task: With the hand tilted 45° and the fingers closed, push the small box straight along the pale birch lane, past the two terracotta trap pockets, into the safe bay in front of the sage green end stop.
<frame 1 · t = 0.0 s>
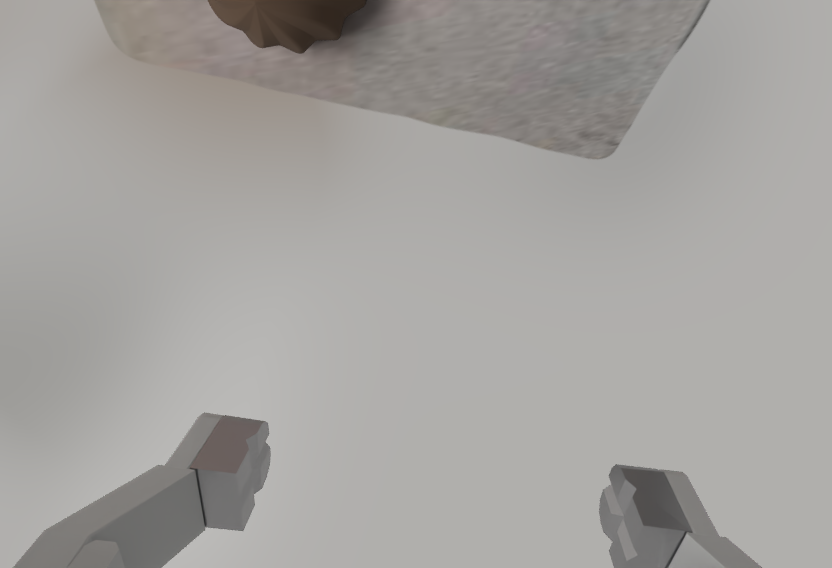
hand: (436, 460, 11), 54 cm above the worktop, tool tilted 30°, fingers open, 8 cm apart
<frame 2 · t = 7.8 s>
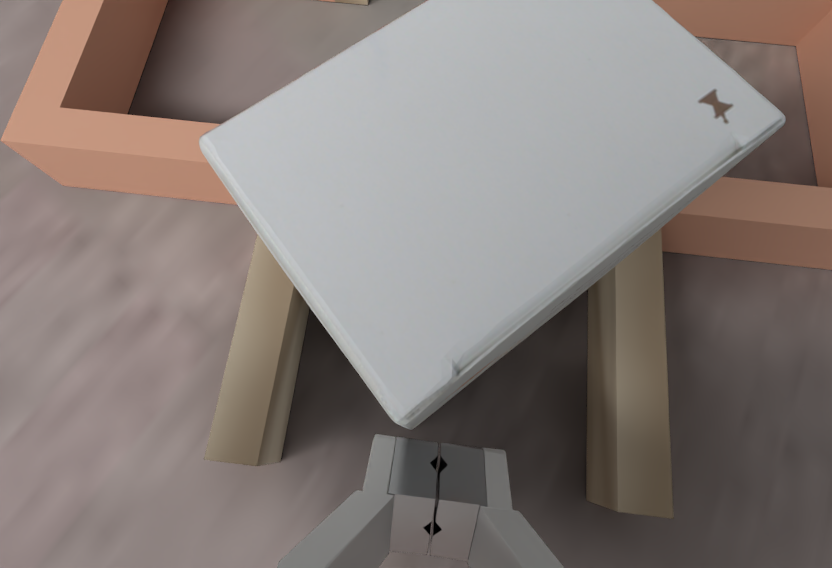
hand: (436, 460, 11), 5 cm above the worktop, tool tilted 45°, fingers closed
trap lane: (468, 108, 20), on the worktop
small box: (448, 303, 18), on the worktop, touching gripper
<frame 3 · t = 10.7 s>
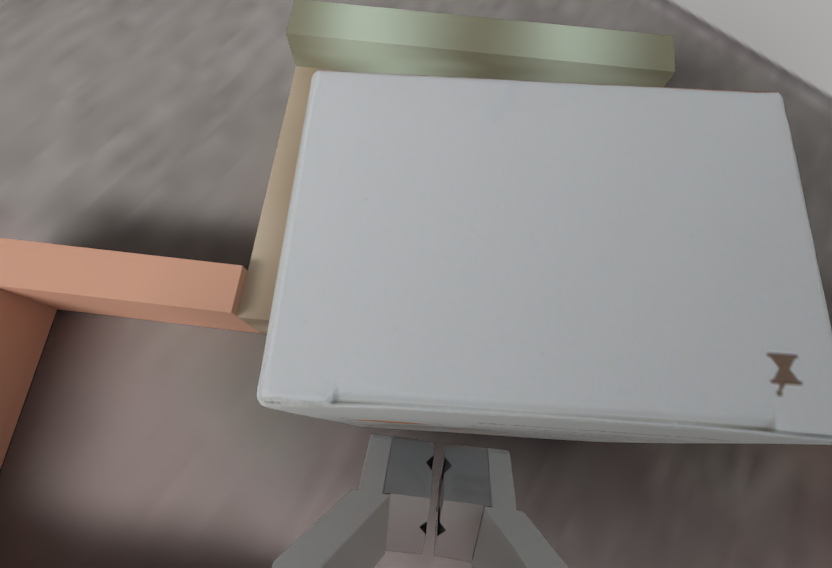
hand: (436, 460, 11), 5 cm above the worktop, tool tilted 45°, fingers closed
trap lane: (427, 508, 15), on the worktop
small box: (470, 354, 17), on the worktop, touching gripper
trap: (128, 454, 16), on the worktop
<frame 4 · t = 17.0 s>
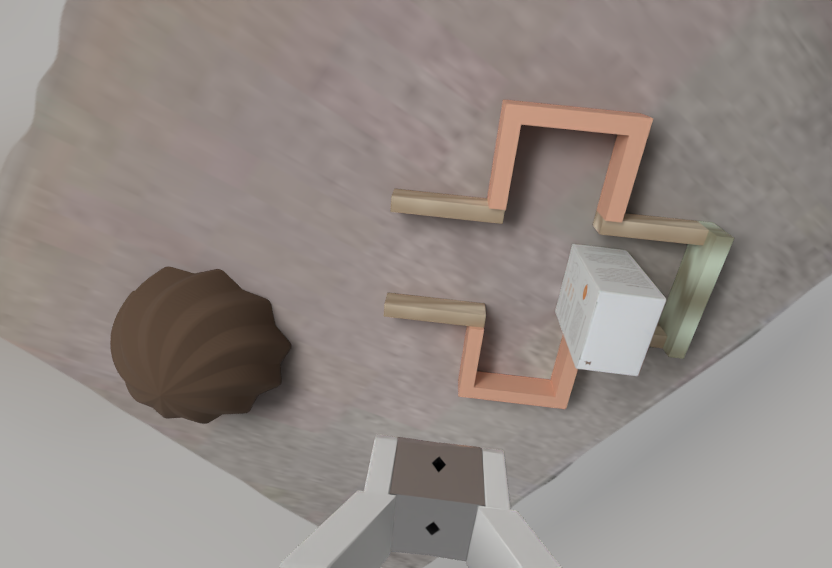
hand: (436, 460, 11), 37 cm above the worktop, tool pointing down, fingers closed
decorative dome: (209, 338, 57), on the worktop
trap lane: (531, 265, 49), on the worktop
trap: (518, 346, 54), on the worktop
small box: (588, 279, 50), on the worktop
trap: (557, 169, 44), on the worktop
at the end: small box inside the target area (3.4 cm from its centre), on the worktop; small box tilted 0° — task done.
